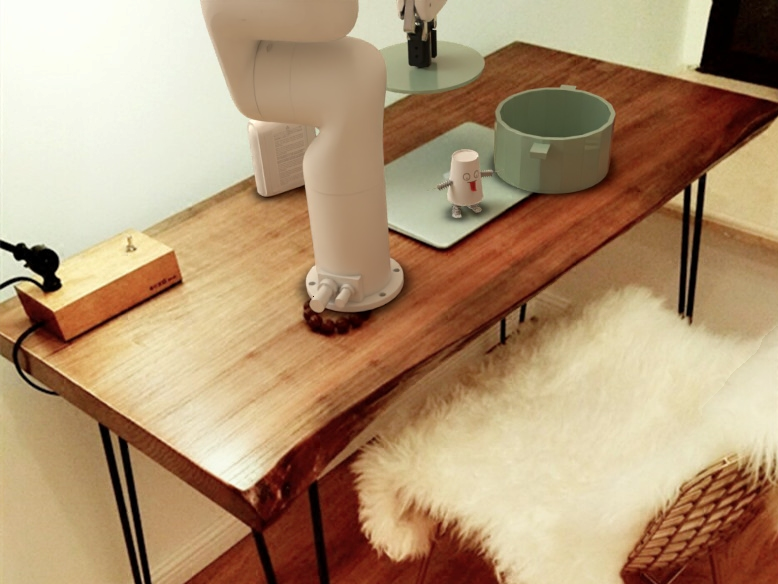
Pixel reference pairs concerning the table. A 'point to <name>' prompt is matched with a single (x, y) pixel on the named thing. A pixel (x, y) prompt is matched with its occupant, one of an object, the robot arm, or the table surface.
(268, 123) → the photo printer
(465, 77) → the lid
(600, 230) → the table surface
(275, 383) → the table surface
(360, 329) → the table surface
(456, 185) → the toy figure
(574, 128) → the pot
